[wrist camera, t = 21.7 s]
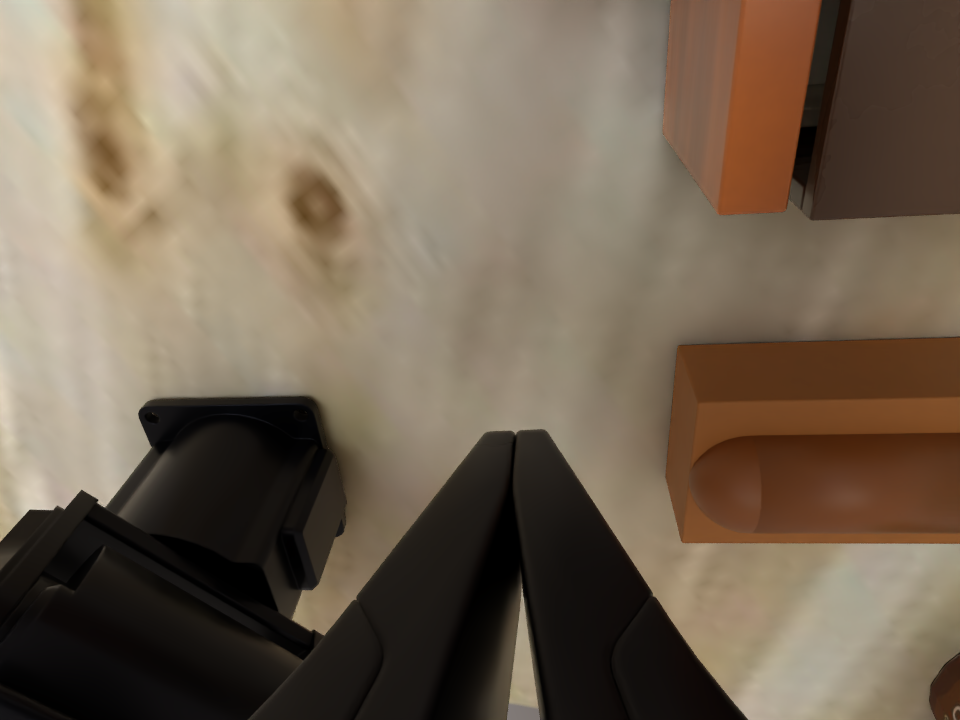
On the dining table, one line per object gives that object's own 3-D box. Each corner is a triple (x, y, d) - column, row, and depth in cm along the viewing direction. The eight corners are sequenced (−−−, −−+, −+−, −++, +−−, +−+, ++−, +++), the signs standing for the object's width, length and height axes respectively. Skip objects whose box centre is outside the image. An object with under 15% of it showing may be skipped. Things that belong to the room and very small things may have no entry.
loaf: (665, 476, 24) (691, 584, 20) (677, 344, 21) (710, 438, 17) (928, 475, 23) (1012, 587, 19) (978, 335, 20) (1090, 433, 16)
